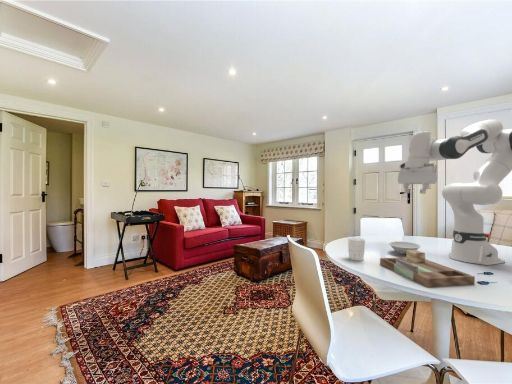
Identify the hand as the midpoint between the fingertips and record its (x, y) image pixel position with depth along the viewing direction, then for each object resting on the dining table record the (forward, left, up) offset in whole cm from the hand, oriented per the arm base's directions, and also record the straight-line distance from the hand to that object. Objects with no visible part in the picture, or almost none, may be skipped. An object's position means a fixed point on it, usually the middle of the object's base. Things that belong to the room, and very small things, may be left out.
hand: (414, 193), depth 119 cm
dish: (-7, -14, -33) cm, 37 cm away
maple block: (+5, +7, -30) cm, 31 cm away
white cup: (+25, -8, -33) cm, 42 cm away
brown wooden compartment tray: (+9, +15, -33) cm, 38 cm away
